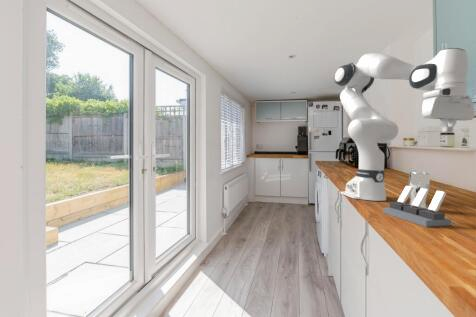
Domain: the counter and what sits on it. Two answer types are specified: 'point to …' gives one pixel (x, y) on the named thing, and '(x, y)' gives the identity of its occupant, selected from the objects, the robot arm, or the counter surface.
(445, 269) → the counter surface
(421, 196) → the breaker
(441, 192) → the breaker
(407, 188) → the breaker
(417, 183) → the beer glass
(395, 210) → the panel
